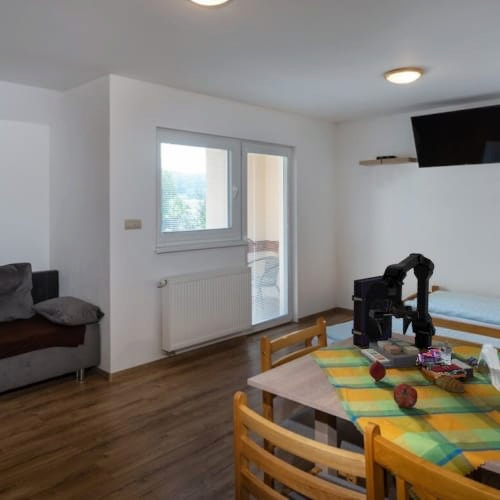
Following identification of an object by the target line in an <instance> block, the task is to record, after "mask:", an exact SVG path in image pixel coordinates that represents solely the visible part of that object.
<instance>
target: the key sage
mask: <svg viewBox="0 0 500 500" xmlns="http://www.w3.org/2000/svg"><path fill="white" fill-rule="evenodd" d="M395 345H396V346H397V347H399V348H400V351H402V350H403V347H410V346H411V344H410V343H408V342H406V341H403V342H396V343H395Z"/></svg>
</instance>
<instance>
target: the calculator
mask: <svg viewBox="0 0 500 500" xmlns="http://www.w3.org/2000/svg"><path fill="white" fill-rule="evenodd" d="M441 365H443V364H441ZM461 368H462V369H464V370H465V371H466V372H467V374H466V378H465V379H467V378H474V368H473V367H472V366H470V365H468V364H466V363H464V362H462V361H461V360H459V359H457V358H452V364H451V365H443V366H440V365H436V366H435V367H431V369H432V370H433V371H435V372H443V373H444V372H452V371H454V370H459V369H461Z"/></svg>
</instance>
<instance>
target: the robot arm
mask: <svg viewBox="0 0 500 500" xmlns="http://www.w3.org/2000/svg"><path fill="white" fill-rule="evenodd" d="M412 269H413V274H414V276H415V278H416V280H417V282H416V310H415V309H414V308H413V306H412V305H404V300H403V286H404V285H405V283H404V280H405V279H406V277H407V276H408V274H407V273H408V272H410V271H411V270H412ZM434 270H435V263H434V262H433V261H432V260H431V259H430V258H428V257H426V256H424V254H422V253H418V252H417V253H416V252H411V253H409V255H408V256H406V257H405V258H404V259H402V260H401V261H400V262H398V263H392V264H389V265H388V266H386V268H385V269H384V272H383V274H382V275H383V277H382V279H381V282H380V285H379V286H378V287H377V288H376V290H375V293H376V296H377V297H378V298H379V299H381V300H384V299H386V301H387V308H386V311H387V312H383V311H381V310H379V309H371V310H370V312H369V316H370V317H372V318H373V319H375V320H376V322H377V324H378V327H379V330H380V332H381V335H383V322H384V319H382V318H383V317H384V316H392V317H394V318H395V319H398V320H399V319H402V334H403V336H405V335H406V334H407V331H408V329H409V326H410V324H411V330H412V334H415V336H414V344H413V345H412V346H414V347H415V348H417V347H418V348H417V349H419V348H421V349H420V350H424V349H423V348H428V347H430V346H432V347H433V337H435V336H436V331H437V329H436V328H435V326H434V324H433V318H432V316H431V314H430V313H429V297H430V296H429V292H430V287H429V286H430V279H432V276H433V274H434ZM389 313H390V314H389Z"/></svg>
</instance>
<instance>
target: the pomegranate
mask: <svg viewBox="0 0 500 500" xmlns="http://www.w3.org/2000/svg"><path fill="white" fill-rule="evenodd" d="M392 393H393V394H392V396H393V400H394V401H395V403H396V404H397V405H398V406H399V407H403V408H408V409H410V408H413V407H414V406H415V405H416V403H417V402H418V396H419V395H418V391H417V390H416V389H415V387H412V386H411V385H410V384H408V383H406V382H405V383H400V384H398V385H397V386H396V387H394V390H393V392H392Z"/></svg>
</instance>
